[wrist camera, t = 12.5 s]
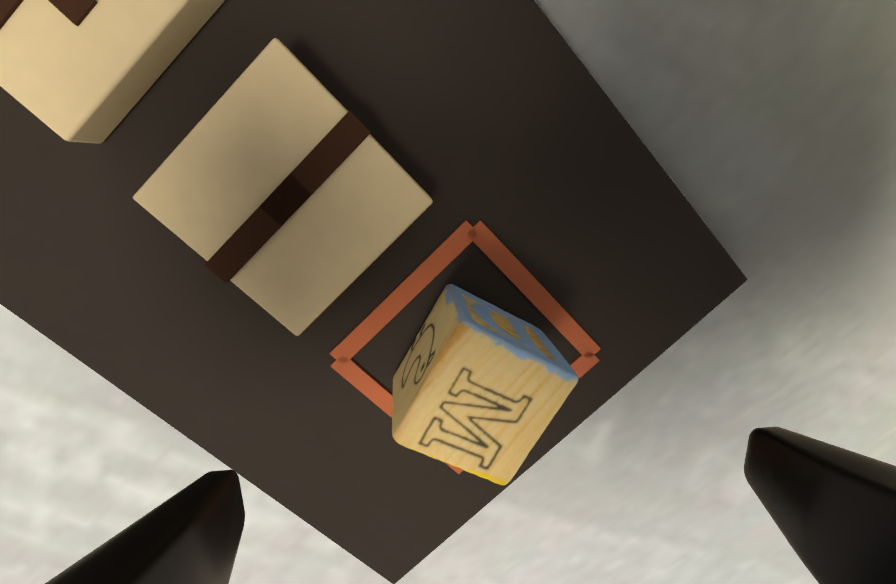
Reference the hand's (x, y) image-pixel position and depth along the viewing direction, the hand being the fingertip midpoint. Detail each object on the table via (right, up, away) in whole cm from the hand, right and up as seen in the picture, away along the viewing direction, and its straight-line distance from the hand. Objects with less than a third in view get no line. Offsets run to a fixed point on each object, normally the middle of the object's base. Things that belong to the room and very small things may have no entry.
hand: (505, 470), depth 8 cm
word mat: (-5, +6, +4) cm, 8 cm away
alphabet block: (-1, +1, +5) cm, 5 cm away
